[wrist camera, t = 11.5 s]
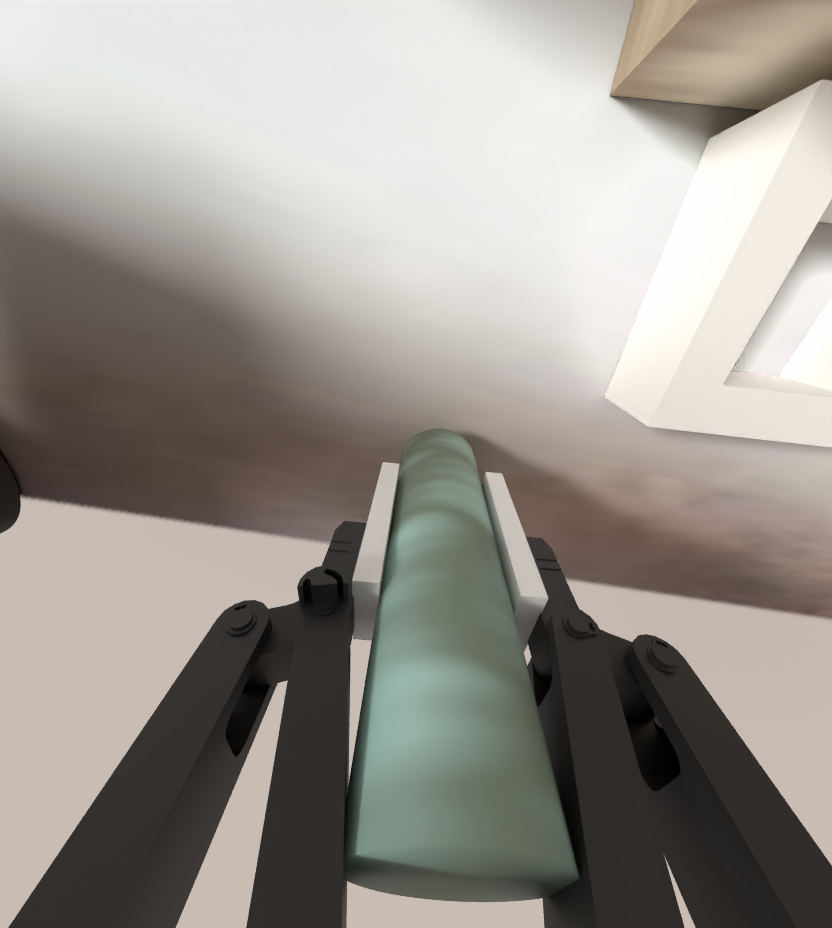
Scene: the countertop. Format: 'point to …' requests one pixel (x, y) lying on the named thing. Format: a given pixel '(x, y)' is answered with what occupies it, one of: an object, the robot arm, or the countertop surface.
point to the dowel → (450, 710)
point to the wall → (725, 51)
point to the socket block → (738, 285)
